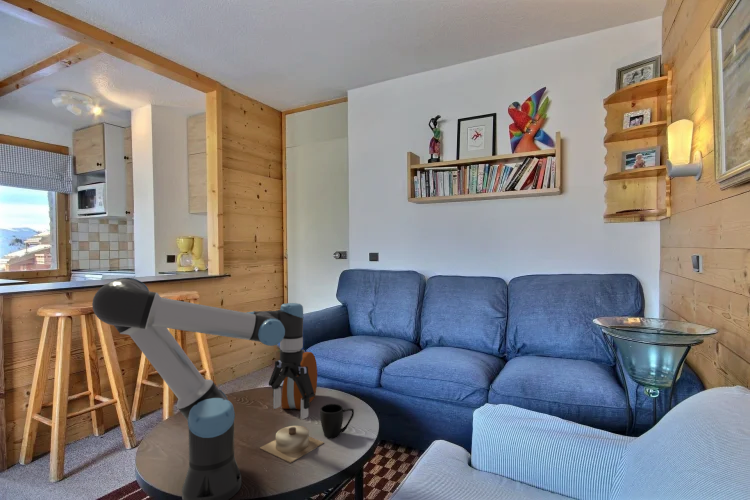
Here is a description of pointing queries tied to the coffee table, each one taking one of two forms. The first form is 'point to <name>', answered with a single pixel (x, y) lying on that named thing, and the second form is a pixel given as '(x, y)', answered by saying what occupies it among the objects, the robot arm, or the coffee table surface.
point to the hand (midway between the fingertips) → (290, 412)
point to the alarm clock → (290, 389)
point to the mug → (333, 419)
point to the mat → (293, 456)
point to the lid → (292, 439)
